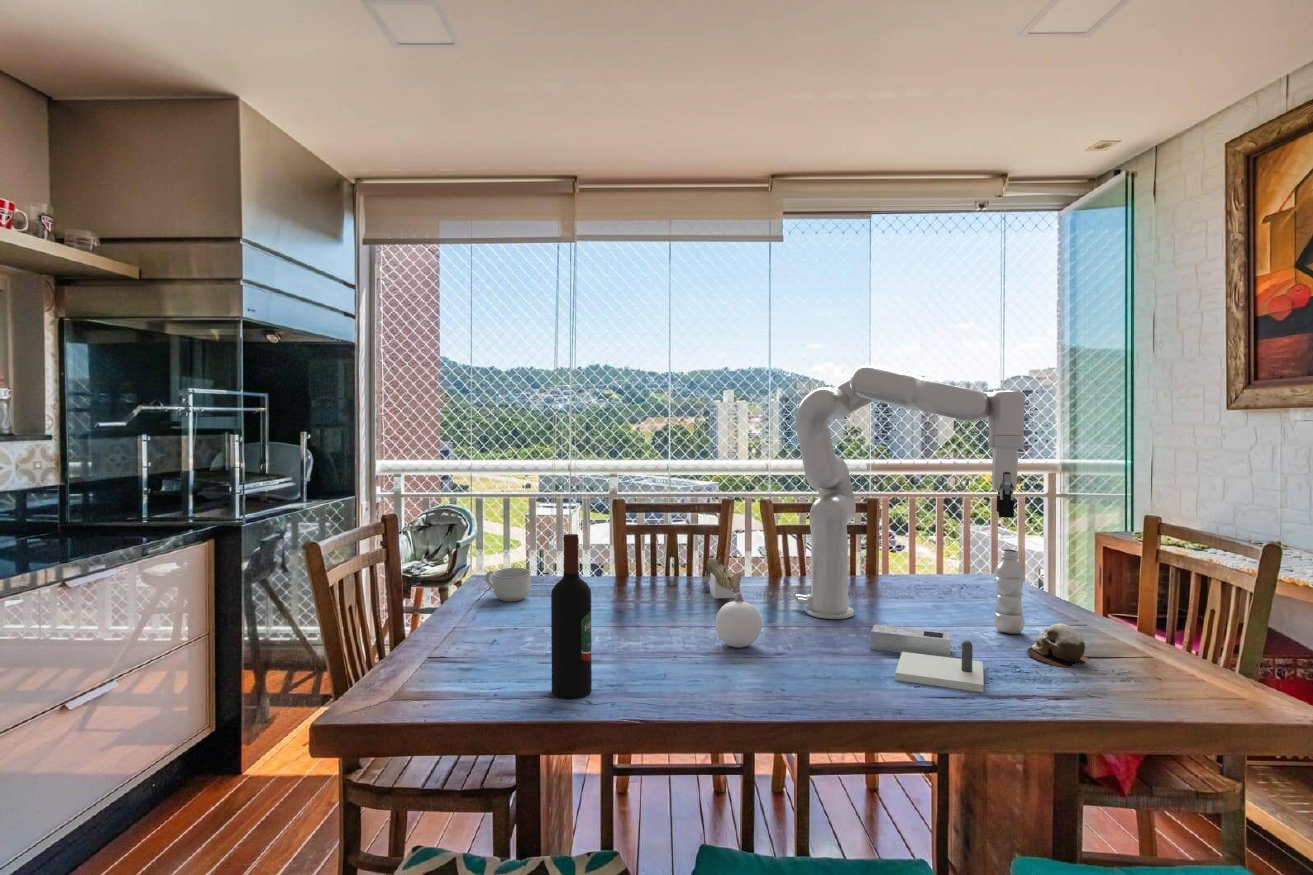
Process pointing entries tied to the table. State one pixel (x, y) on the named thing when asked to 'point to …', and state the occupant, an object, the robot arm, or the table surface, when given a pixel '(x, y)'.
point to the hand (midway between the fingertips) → (1004, 514)
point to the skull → (1059, 646)
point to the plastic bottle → (1009, 593)
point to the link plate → (910, 640)
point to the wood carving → (722, 580)
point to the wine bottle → (571, 629)
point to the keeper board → (942, 670)
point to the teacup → (510, 583)
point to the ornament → (738, 623)
